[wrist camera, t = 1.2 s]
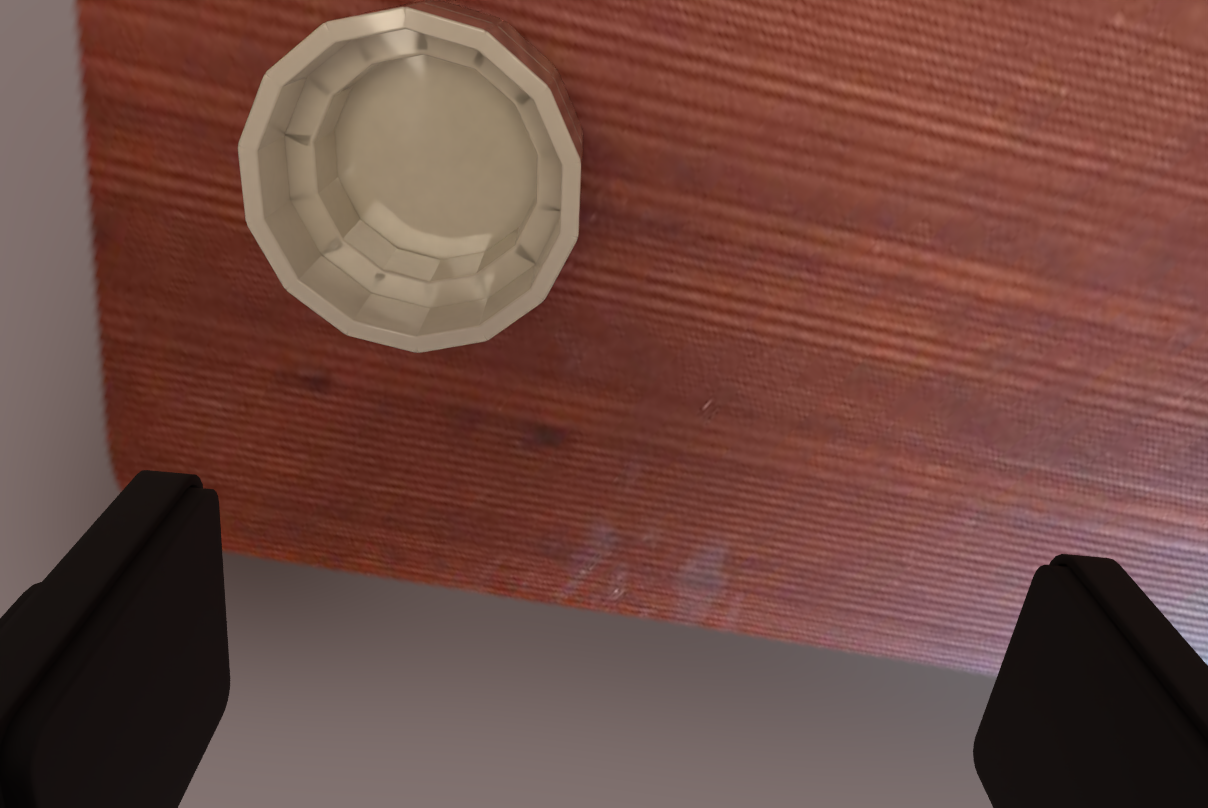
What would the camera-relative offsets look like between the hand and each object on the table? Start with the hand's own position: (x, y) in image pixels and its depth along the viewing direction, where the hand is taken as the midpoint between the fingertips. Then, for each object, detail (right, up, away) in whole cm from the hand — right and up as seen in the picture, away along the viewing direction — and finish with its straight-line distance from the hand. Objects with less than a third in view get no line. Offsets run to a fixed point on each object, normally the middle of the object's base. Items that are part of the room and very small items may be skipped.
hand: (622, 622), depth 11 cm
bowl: (-4, +9, +13) cm, 16 cm away
